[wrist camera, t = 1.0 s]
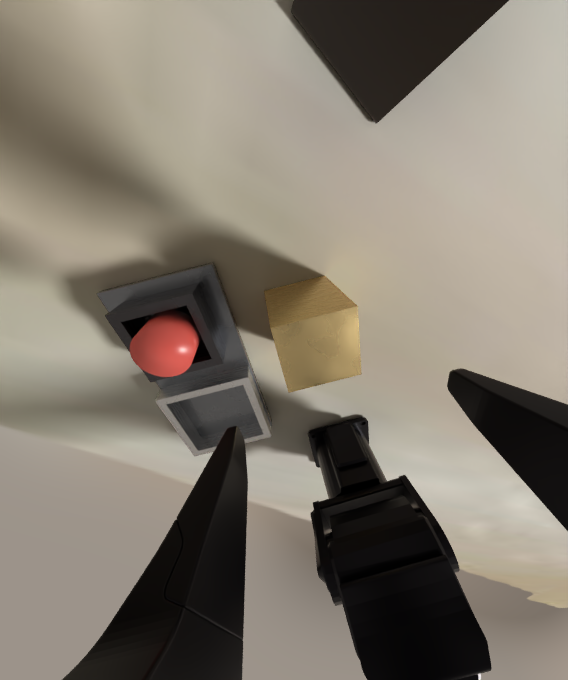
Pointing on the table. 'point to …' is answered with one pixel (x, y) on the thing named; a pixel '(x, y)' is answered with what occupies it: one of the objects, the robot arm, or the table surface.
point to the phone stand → (389, 41)
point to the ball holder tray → (196, 357)
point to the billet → (314, 332)
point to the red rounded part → (166, 344)
